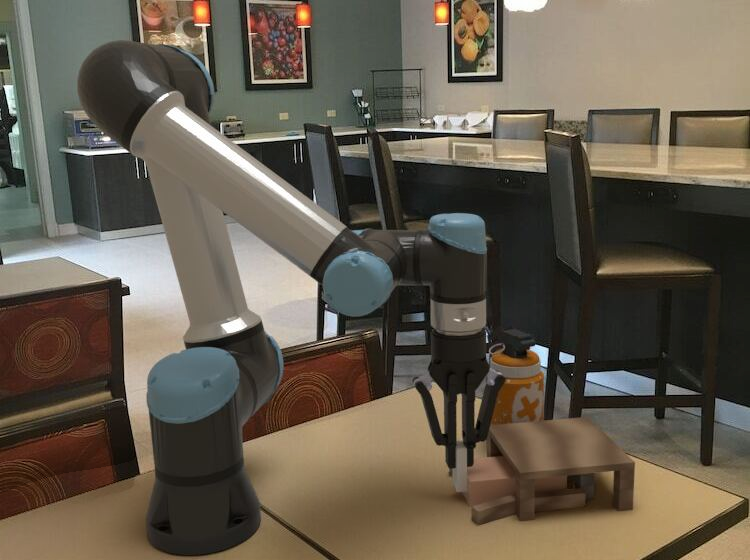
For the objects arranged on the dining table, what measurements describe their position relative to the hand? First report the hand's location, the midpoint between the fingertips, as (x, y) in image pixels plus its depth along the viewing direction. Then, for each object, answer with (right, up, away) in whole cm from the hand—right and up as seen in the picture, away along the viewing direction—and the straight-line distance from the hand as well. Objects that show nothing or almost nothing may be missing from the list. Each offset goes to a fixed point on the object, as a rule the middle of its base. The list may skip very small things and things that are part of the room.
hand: (459, 487), depth 113 cm
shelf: (+11, -1, +2) cm, 11 cm away
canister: (+10, +2, +17) cm, 19 cm away
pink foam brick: (+8, -1, +2) cm, 8 cm away
